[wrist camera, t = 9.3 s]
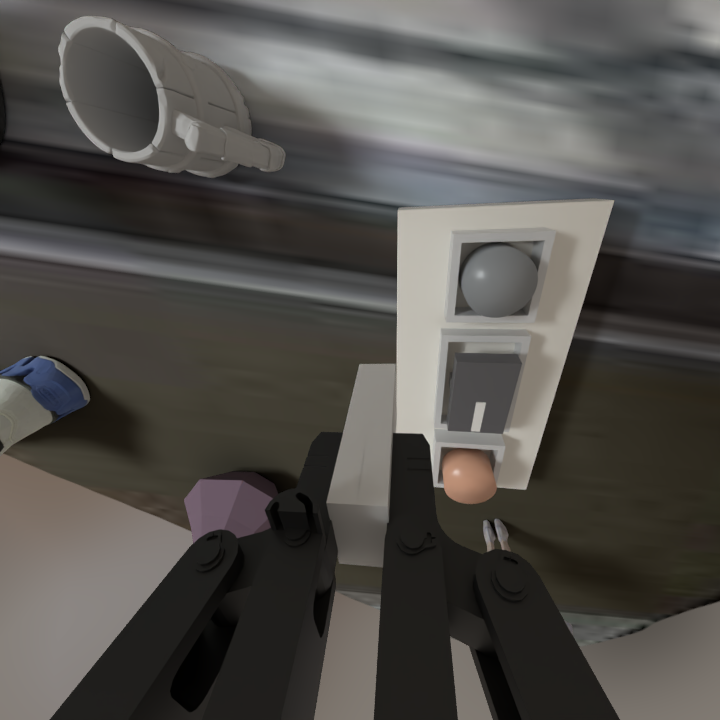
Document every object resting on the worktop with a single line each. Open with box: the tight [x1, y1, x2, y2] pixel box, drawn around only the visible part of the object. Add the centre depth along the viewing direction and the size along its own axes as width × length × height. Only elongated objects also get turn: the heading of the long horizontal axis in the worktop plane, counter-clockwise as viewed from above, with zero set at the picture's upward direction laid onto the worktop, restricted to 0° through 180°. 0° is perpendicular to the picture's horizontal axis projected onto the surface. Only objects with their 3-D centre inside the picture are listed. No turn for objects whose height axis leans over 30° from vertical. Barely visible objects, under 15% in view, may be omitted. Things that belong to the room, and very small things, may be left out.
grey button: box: [459, 242, 538, 318], centre depth 24 cm, size 5×5×3 cm
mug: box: [58, 16, 286, 178], centre depth 21 cm, size 8×12×12 cm, turn 68°
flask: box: [184, 471, 278, 543], centre depth 40 cm, size 16×16×20 cm
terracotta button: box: [442, 448, 497, 504], centre depth 33 cm, size 5×5×3 cm
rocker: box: [446, 353, 522, 434], centre depth 28 cm, size 8×5×2 cm, turn 3°
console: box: [396, 198, 614, 490], centre depth 31 cm, size 30×15×5 cm, turn 3°
